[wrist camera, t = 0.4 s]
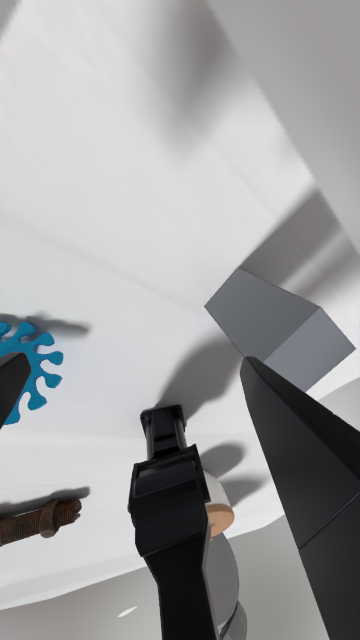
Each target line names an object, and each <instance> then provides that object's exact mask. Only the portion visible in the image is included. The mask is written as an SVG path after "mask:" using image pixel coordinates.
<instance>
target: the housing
mask: <svg viewBox="0 0 360 640" xmlns="http://www.w3.org/2000/svg"><path fill="white" fill-rule="evenodd" d="M204 307H205V308H206V310H207V311H208V312H209V314H210V315H211V316H212V317H213V319H214V320H215V321H216V322H217V324H218V325H219V326H220V327H221V329H222V330H223V331H224V333H225V334H226V335H227V336H228V338H229V339H230V340H231V341H232V343H233V344H234V345H235V346H236V348H237V349H238V350H239V352H240V353H241V354H242V355H243V357H245V356H254V357H256V358H257V359H259V360H260V361H261V362H263V363H264V364H266V365H267V366H268V367H270V368H271V369H273V370H274V371H275V372H277V373H278V374H280V375H281V376H282V377H284V378H285V379H286V380H288V381H289V382H291V383H292V384H293V385H295V386H296V387H298V388H299V389H300V390H302V391H303V392H306V391H307V390H308V389H310V388H311V387H312V386H313V385H314V384H315V383H317V382H318V381H319V380H320V379H321V378H323V377H324V376H325V375H326V374H327V373H328V372H330V371H331V370H332V369H333V368H334V367H335V366H337V365H338V364H339V363H340V362H341V361H343V360H344V359H345V358H346V357H347V356H348V355H350V354H351V353H352V352H353V351H354V350H355V349H356V348H355V347H354V345H353V344H352V343H351V342H350V341H349V340H348V338H347V337H346V336H345V335H344V334H343V332H342V331H341V330H340V329H339V328H338V327H337V325H336V324H335V323H334V322H333V321H332V319H331V318H330V317H329V316H328V315H327V314H326V312H325V311H324V310H323V309H322V308H321V307H320V306H318V305H316V304H314V303H311V302H309V301H307V300H305V299H303V298H301V297H299V296H297V295H294V294H292V293H290V292H288V291H286V290H284V289H282V288H280V287H278V286H275V285H273V284H271V283H269V282H267V281H265V280H263V279H261V278H258V277H256V276H254V275H252V274H250V273H248V272H246V271H244V270H242V269H239V268H237V269H236V271H235V272H234V273H233V274H232V275H231V276H230V277H229V279H228V280H227V281H226V282H225V283H224V284H223V285H222V287H221V288H220V289H219V290H218V291H217V292H216V293H215V295H214V296H213V297H212V298H211V299H210V300H209V301H208V303H207V304H206V305H205V306H204Z"/></svg>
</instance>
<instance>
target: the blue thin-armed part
mask: <svg viewBox="0 0 360 640" xmlns="http://www.w3.org/2000/svg"><path fill="white" fill-rule="evenodd" d="M10 329H11V327H10V325H8V324H7V323H4V322H0V357H2V356H4V355H6V354H9V353H11V352H24V353H26V355H27V357H28V360H29V362H30V365H31V369H32V370H31V374H30V376H29V378H28V380H27V382H26V384H25V386H24V388H23V390H22V392H21V394H20V396H19V398H18V400H17V402H16V404H15V406H14V408H13V410H12V411H11V413H10V415H9V416H8V418H7V420H6V421H5V423H4V424H3V425H8V424H14V423H17V422H18V421H19V419H20V413H19V410H18V406H19V402H20V399H21V397H22V395H23V394H24V393H25V392H29V393H30V394H31V398H30V400H29V402H28V408H29V410H35V409H38V408H40V407H42V406H44V405H45V404H46V403H47V401H46V398H45V397H43V396H41V395H40V394H39V392H38V391H37V387H36V380H37V378H39V377H41V376H43V377H44V378H45V383H46V385H47V386H48V387H49V388H55V387H56V386H57V385H58V384H59V383H60V381H61V380H62V377H61V376H59V375H56V374H48V373H47V372H45V371H44V370H43V369H42V368H41V366H40V364H41V362H42V361H43V360H45V359H48V360H49V361H50V362H51V363H53V364H55V365H60V364H62V361H63V353H61V352H59V351H55V352H53V353H50V354H38V353H35V348H36V347H37V346H38V345H45V346H51V345H53V344H54V339H53V337H52V336H51V334H50V333H49V332H46V333H43V334H42V335H41V336H40V337H39V338H37V339H36V340H34V341H31V342H28V343H21V338H22V337H24V336H27V335H32V334H33V333H35V331H36V328H35V327H33V326H32V325H31V324H29V323H27V322H22V323H21V324H20V325H19V328H18V330H17V332H16V333H15V335H14V336H12V337H11V338H10V339H8V340H7V341H5V342H2V341H1V338H2V336H4V335H5V334H6V333H8V332H9V331H10Z"/></svg>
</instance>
